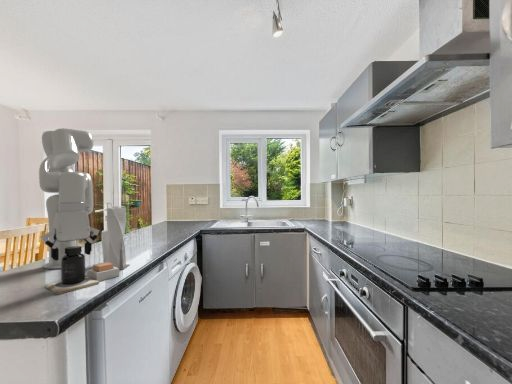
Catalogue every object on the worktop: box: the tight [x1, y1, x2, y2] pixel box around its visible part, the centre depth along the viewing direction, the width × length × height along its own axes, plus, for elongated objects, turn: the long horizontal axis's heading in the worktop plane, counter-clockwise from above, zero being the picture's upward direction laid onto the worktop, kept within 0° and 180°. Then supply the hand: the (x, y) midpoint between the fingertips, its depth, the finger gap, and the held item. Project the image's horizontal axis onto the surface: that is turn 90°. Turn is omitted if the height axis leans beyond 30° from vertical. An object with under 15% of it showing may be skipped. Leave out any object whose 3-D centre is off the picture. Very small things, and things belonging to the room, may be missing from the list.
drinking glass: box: [100, 229, 110, 263], centre depth 121 cm, size 7×7×15 cm
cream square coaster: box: [44, 275, 100, 295], centre depth 91 cm, size 12×12×1 cm
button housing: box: [86, 266, 120, 282], centre depth 100 cm, size 8×8×3 cm
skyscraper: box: [106, 202, 130, 271], centre depth 113 cm, size 8×8×28 cm
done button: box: [92, 262, 113, 272], centre depth 100 cm, size 5×5×2 cm
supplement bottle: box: [60, 245, 86, 285], centre depth 92 cm, size 7×7×12 cm
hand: (72, 256), depth 92 cm, fingers open, 9 cm apart
